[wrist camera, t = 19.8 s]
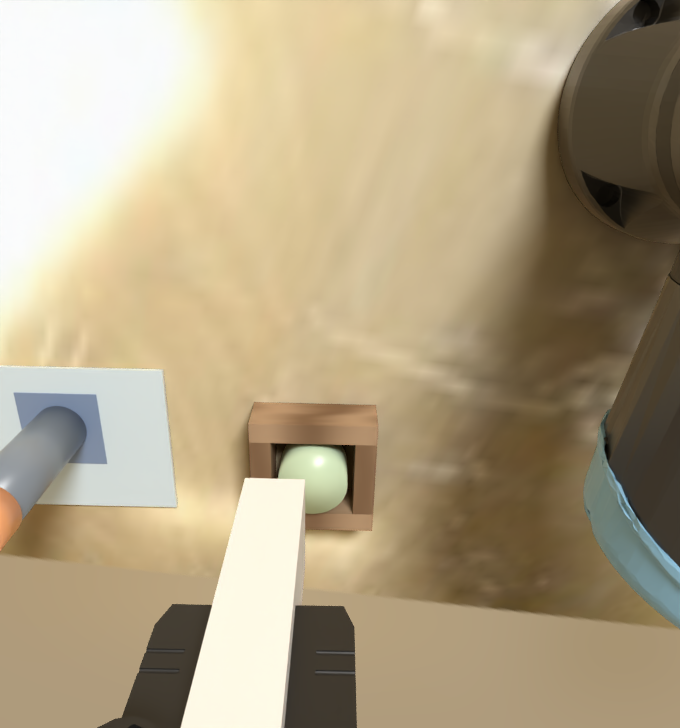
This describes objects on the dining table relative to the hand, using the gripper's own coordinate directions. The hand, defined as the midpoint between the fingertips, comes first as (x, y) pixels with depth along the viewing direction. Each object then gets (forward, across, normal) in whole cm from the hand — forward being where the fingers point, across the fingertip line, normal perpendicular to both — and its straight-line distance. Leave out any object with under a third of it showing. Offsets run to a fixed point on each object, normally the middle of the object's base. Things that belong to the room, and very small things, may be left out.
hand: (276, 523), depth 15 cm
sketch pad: (+26, -19, -14) cm, 35 cm away
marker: (+26, -19, -13) cm, 35 cm away
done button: (+26, 0, -15) cm, 30 cm away
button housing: (+26, 0, -15) cm, 30 cm away
